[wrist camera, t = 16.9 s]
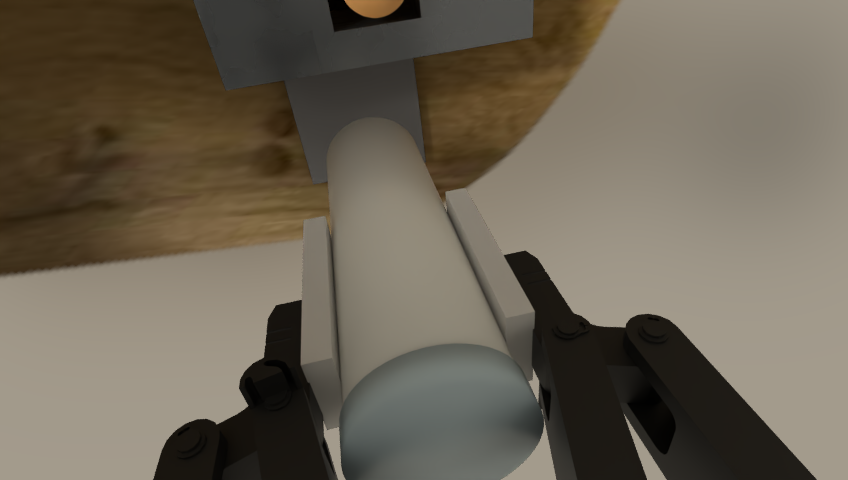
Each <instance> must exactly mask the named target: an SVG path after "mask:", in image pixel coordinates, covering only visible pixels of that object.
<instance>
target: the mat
mask: <svg viewBox="0 0 848 480" xmlns="http://www.w3.org/2000/svg"><path fill="white" fill-rule="evenodd" d="M284 83H285V86H286V90H287V93H288V97H289V100H290V104H291V107H292V111H293V114H294V118H295V121H296V125H297V128H298V132H299V135H300V139H301V142H302V146H303V149H304V153H305V156H306V160H307V163H308V167H309V170H310V174H311V177H312V181H313V184H318V183H323V182H328V177H327V160H326V159H327V152H328V148H329V146H330V143H331V142H332V140H333V138H334V137H335V136H336V134H337V133H338V132H339V131H340V130H341V129H342V128H344V127H345V126H346V125H348V124H350V123H351V122H354V121H356V120H359V119H363V118H369V117H379V118H385V119H389V120H391V121H394V122H396V123H398V124H399V125H401V126H402V127H404V128H405V129H406V130H407V131H408V132H409V133H410V135H411V136H412V137H413V139H414V141H415V143H416V145H417V148H418V150H419V152H420V154H421V156H422V159H423V161H424V163H425V162H426V159H425V151H424V143H423V134H422V126H421V118H420V110H419V101H418V93H417V85H416V77H415V68H414V60H413V58H410V59H405V60H399V61H393V62H387V63H382V64H376V65H370V66H364V67H359V68H353V69H347V70H341V71H335V72H330V73H324V74H318V75H312V76H307V77H301V78H295V79H289V80H284Z"/></svg>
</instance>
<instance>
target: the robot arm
mask: <svg viewBox="0 0 848 480" xmlns="http://www.w3.org/2000/svg"><path fill="white" fill-rule="evenodd" d="M445 194H446V204H447V214H448V216H449V218H450V220H451V223H452V225H453V227H454V229H455V231H456V234H457V236H458V238H459V240H460V242H461V245H462V247H463V249H464V251H465V253H466V256H467V258H468V260H469V262H470V264H471V267H472V269H473V271H474V273H475V276H476V278H477V280H478V282H479V284H480V287H481V289H482V291H483V293H484V295H485V298H486V300H487V302H488V304H489V306H490V309H491V311H492V313H493V315H494V317H495V320H496V322H497V324H498V326H499V328H500V331H501V333H502V335H503V337H504V340H505V342H506V344H507V346H508V348H509V351H510V353H511V355H512V357H513V359H514V360H515V361H516V362H517V363H518V365H519V366H520V367H521V368H522V370H523V372H524V374H525V376H526V378H527V380H528V381H530V380H532V379H533V378H532V377H533V369H534V371H535V373H536V375H537V377H538V379H539V401H538V404H539V406H540V408H541V409H542V410H543V415H544V419H545V425H546V430H547V435H548V440H549V444H550V449H551V454H552V459H553V464H554V469H555V474H556V479H557V480H647V478H646V475H645V472H644V470H643V467H642V464H641V461H640V458H639V456H638V453H637V450H636V447H635V444H634V442H633V439H632V436H631V433H630V430H629V428H628V425H627V422H626V419H625V416H626V417H627V419H628V420H629V422H630V424H631V425H632V427H633V428H634V430H635V431H636V433H637V434H638V436H639V437H640V439H641V441H642V442H643V443H644V445H645V447H646V448H647V450H648V451H649V453H650V454H651V456H652V457H653V459H654V461H655V462H656V464H657V465H658V467H659V468H660V470H661V471H662V473H663V474H664V476H665V478H666V479H667V480H816V478H815V477H814V476H813V475H812V474H811V473H810V472H809V471H808V469H807V468H806V467H805V466H804V465H803V464H802V463H801V462H800V461H799V460H798V459H797V457H796V456H795V455H794V454H793V453H792V452H791V451H790V450H789V449H788V448H787V446H786V445H785V444H784V443H783V442H782V441H781V440H780V439H779V438H778V437H777V436H776V435H775V433H774V432H773V431H772V430H771V429H770V428H769V427H768V426H767V425H766V423H765V422H764V421H763V420H762V419H761V418H760V417H759V416H758V415H757V414H756V412H755V411H754V410H753V409H752V408H751V407H750V406H749V405H748V404H747V403H746V402H745V400H744V399H743V398H742V397H741V396H740V395H739V394H738V393H737V392H736V391H735V390H734V388H733V387H732V386H731V385H730V384H729V383H728V382H727V381H726V380H725V379H724V377H723V376H722V375H721V374H720V373H719V372H718V371H717V370H716V369H715V368H714V366H713V365H712V364H711V363H710V362H709V361H708V360H707V359H706V358H705V357H704V356H703V354H701V352H700V351H699V350H698V349H697V348H696V347H695V346H694V345H693V344H692V343H691V342H690V340H689V339H688V338H687V337H686V336H685V335H684V334H683V333H682V331H681V330H680V329H679V328H678V327H677V326H676V325H675V324H673V323H672V322H671V321H670V320H668V319H665V318H663V317H661V316H657V315H652V314H642V315H637V316H635V317H632V318H631V319H630V320H629V321H628V323H627V324H626V328H622V327H601V326H595V325H592V324H590V323H589V321H587V320H586V319H585V318H583V317H582V316H580V315H577V314H574V313H573V312H572V311H571V309H570V308H569V306H568V305H567V303H566V302H565V300H564V298H563V297H562V295H561V294H560V293H559V291H558V289H557V288H556V286H555V285H554V283H553V282H552V281H551V280H550V277H549V275H548V274H547V272H545V269H544V268H543V266H542V265H541V263H540V262H539V260H538V259H537V258H536V257H534V256H533V255H531V254H530V253H528V252H527V251H521V252H516V253H512V254H507V255H503V254H502V252H501V250H500V248H499V247H498V245H497V243H496V241H495V239H494V238H493V236H492V234H491V232H490V231H489V229H488V227H487V225H486V223H485V222H484V220H483V218H482V216H481V214H480V213H479V211H478V209H477V207H476V205H475V204H474V202H473V200H472V198H471V197H470V195H469V193H468V191H467V189H466V188H462V189H457V190H452V191H447V192H445ZM302 277H303V279H302V300H299V301H294V302H290V303H285V304H280V305H276V306H275V308H274V310H273V311H272V313H271V315H270V316H269V318H268V324H267V335H266V346H265V353H264V358H263V359H261V360H259V361H257V362H255V363H253V364H252V365H251V366H250V367H249V368H248V369H247V370H246V371H245V372H244V374H243V376H242V377H241V379H240V385H239V389H240V391H241V393H242V395H243V396H244V398H245V400H246V402H247V404H248V407H247V408H246V409H244V410H243V411H241V412H240V413H238V414H237V415H235V416H233V417H231V418H229V419H227V420H225V421H223V422H221V423H219V424H217V425H216V423H215V422H213V421H211V420H208V419H197V420H194V421H192V422H189V423H187V424H185V425H183V426H182V427H180V428H179V429H177V430H176V431H175V432H174V433H173V434H172V435H171V436H170V437H169V439H168V440H167V441H166V443H165V445H164V447H163V449H162V452H161V455H160V459H159V462H158V465H157V469H156V472H155V476H154V479H153V480H338V479H337V475H336V472H335V469H334V465H333V462H332V459H331V455H330V452H329V448H328V445H327V442H326V440H325V438H324V429H323V421H324V423H325V426H326V428H327V430H329V429H333V428H337V427H339V417H340V411H341V408H342V393H341V376H340V361H339V345H338V330H337V315H336V299H335V284H334V269H333V253H332V239H331V235H330V231H329V228H328V224H327V221H326V217H325V216H322V217H317V218H312V219H307V220H304V226H303V275H302ZM624 414H625V416H624Z"/></svg>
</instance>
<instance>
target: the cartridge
mask: <svg viewBox="0 0 848 480" xmlns="http://www.w3.org/2000/svg"><path fill="white" fill-rule="evenodd" d="M326 160H327V177H328V193H329V208H330V224H331V239H332V253H333V269H334V284H335V299H336V315H337V330H338V345H339V361H340V376H341V393H342V408H341V411H340V417H339V431H340V448H341V466H342V471H343V475H344V477H345V479H346V480H501V479H502V478H504V477H506V476H507V475H508V474H510V473H511V472H512V471H514V470H515V469H516V468H517V467H519V466H520V465H521V464H522V463H523V462H524V461H525V460H526V459H527V458H528V457H529V456H530V455H531V453H532V452H533V450H534V449H535V448H536V446H537V444H538V443H539V441H540V439H541V436H542V433H543V427H544V417H543V414H542V411H541V408H540V406H539V404H538V402H537V399H536V397H535V395H534V393H533V391H532V389H531V386H530V384H529V382H528V380H527V378H526V376H525V374H524V372H523V370H522V368H521V367H520V366H519V365H518V363H517V362H516V361H515V360H514V359H513V357H512V355H511V353H510V351H509V348H508V346H507V344H506V342H505V340H504V337H503V335H502V333H501V331H500V328H499V326H498V324H497V322H496V320H495V317H494V315H493V313H492V311H491V309H490V306H489V304H488V302H487V300H486V298H485V295H484V293H483V291H482V289H481V287H480V284H479V282H478V280H477V278H476V276H475V273H474V271H473V269H472V267H471V264H470V262H469V260H468V258H467V256H466V253H465V251H464V249H463V247H462V245H461V242H460V240H459V238H458V236H457V234H456V231H455V229H454V227H453V225H452V223H451V220H450V218H449V216H448V214H447V212H446V209H445V207H444V205H443V203H442V200H441V198H440V196H439V194H438V192H437V189H436V187H435V185H434V183H433V181H432V178H431V176H430V174H429V172H428V170H427V167H426V165H425V163H424V161H423V159H422V156H421V154H420V152H419V150H418V148H417V145H416V143H415V141H414V139H413V137H412V136H411V135H410V133H409V132H408V131H407V130H406V129H405V128H404V127H402V126H401V125H399V124H398V123H396V122H394V121H391V120H389V119H385V118H379V117H369V118H363V119H359V120H356V121H354V122H351V123H350V124H348V125H346V126H345V127H344V128H342V129H341V130H340V131H339V132H338V133H337V134H336V136H335V137H334V138H333V140H332V142H331V143H330V146H329V148H328V152H327V159H326Z"/></svg>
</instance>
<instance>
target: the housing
mask: <svg viewBox="0 0 848 480" xmlns="http://www.w3.org/2000/svg"><path fill="white" fill-rule="evenodd" d="M193 1H194V4H195V7H196V10H197V12H198V15H199V18H200V21H201V23H202V26H203V29H204V32H205V35H206V37H207V40H208V43H209V46H210V48H211V51H212V54H213V57H214V59H215V62H216V65H217V68H218V70H219V73H220V76H221V79H222V81H223V84H224V87H225V90H232V89H237V88H243V87H249V86H255V85H260V84H266V83H272V82H278V81H283V80H289V79H295V78H301V77H307V76H312V75H318V74H324V73H330V72H335V71H341V70H347V69H353V68H359V67H364V66H370V65H376V64H382V63H387V62H393V61H399V60H405V59H410V58H416V57H422V56H428V55H434V54H439V53H445V52H451V51H457V50H462V49H468V48H474V47H480V46H485V45H491V44H497V43H503V42H509V41H514V40H520V39H526V38H532V37H533V1H534V0H404V1H403V2H402V4H401V5H400V6H399V7H398V8H397V9H396V10H395V11H394V12H392V13H391V14H389V15H387V16H384V17H380V18H370V17H365V16H362V15H360V14H358V13H356V12H355V11H354V10H352V9H351V8H349V9H343V10H337V11H331V12H330V10H329V5H328V1H327V0H193Z"/></svg>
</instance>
